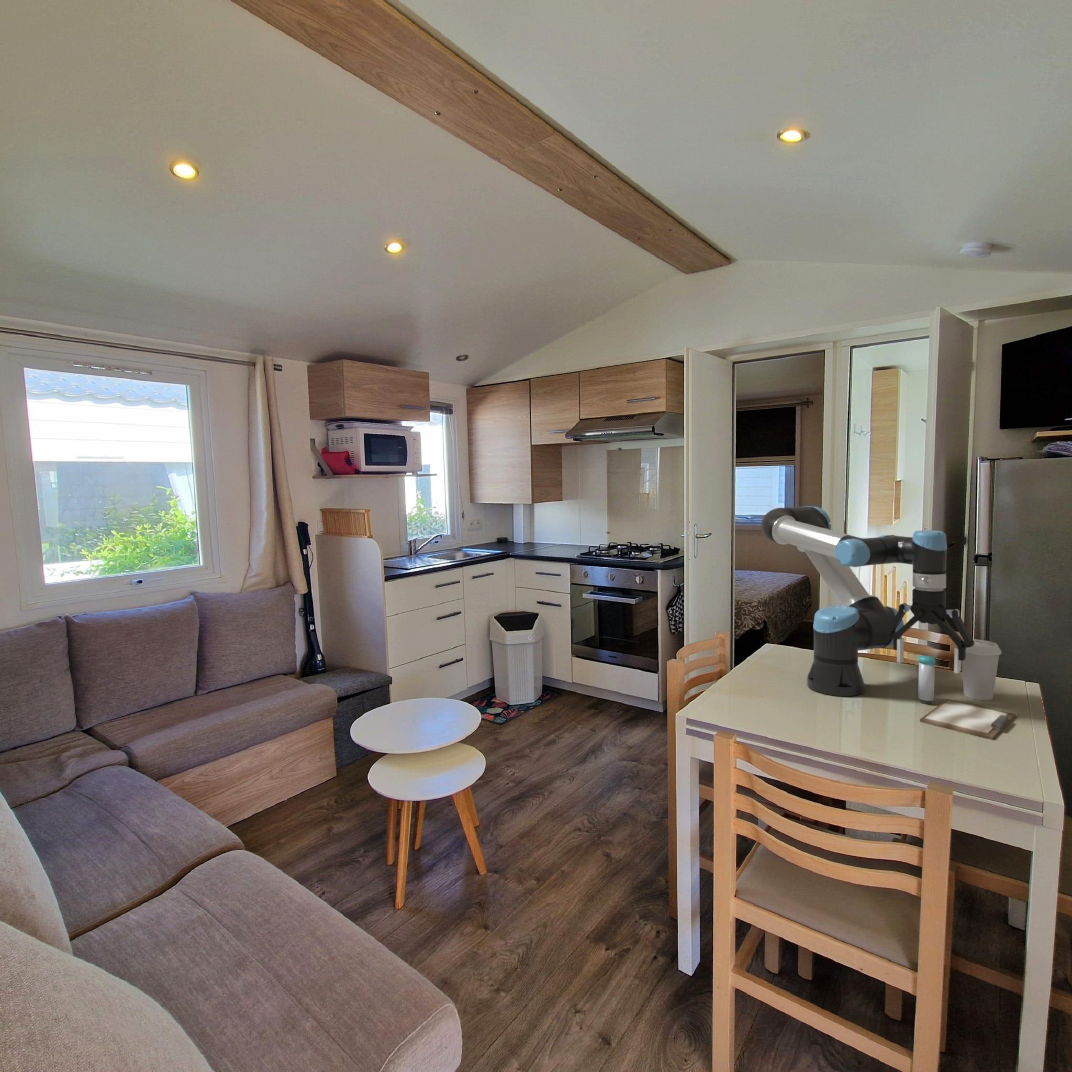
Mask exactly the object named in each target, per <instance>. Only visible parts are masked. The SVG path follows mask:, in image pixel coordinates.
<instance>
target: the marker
mask: <svg viewBox="0 0 1072 1072" xmlns="http://www.w3.org/2000/svg"><path fill="white" fill-rule="evenodd" d="M935 667H936V657H935V656H932V655H925V654H924V655H923V654H922V655H919V656H918V684H917V685H918V688H917V689H918V691H917V693H918V695H917V697H918V699H920V703H921V704H923V705H931V704H932V701H935V674H936V672H935V671H936V670H935V669H936V668H935Z"/></svg>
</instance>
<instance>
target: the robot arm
mask: <svg viewBox="0 0 1072 1072" xmlns="http://www.w3.org/2000/svg"><path fill="white" fill-rule="evenodd" d="M831 528H832V524H831V518H830V517H829V515H828V513H827V512H826V511H825V510H824V509H823V508H821V507H818V506H811V505H803V506H797V507H795V506H794V507H793V506H792V507H777V508H774V509H771V510H770V511H768V512H767V513H766V514H765V515H764V516H763V517H762V520H761V522H760V529H761V530H760V531H761V532H762V535H763V536H764V537H765V539H767V540H768V541H770V542H772V543H776V544H779V545H783V546H784V545H788V544H789V545H792V546H795V547H796V549H797V550H798V551H799V552H802V553H805V554H806V555H807V557H808V558H809V560H810V561H811V563H812V565H813V566H814V568H815V569H816V571H817V572H818V573H819V575H820V576H821V578H822V580H823V581H824V583H825V584H826V585H827V587H828V588H829V590H830V591H831V593H832V595H833V596H834V598H835V599H836V601H837V602H838V604H839V605H837V606H836V605H833V606H832V605H830V606H826V607H823V608H820V609H818V610H817V611H816V612H815V614H814V617H813V618H814V619H813V624H812V625H813V626H812V627H813V661H812V663H811V665H810V669H809V671H808V673H807V677H806V685H807V687H808V688H809V689H810V690H812V691H814V692H817V693H821V694H824V695H827V696H828V695H829V696H836V697H837V696H838V697H852V696H853V697H856V696H860V695H862V694H864V692H865V680H864V677H863V675H862V672H861V670H860V667H859V651H865V650H875V649H884V648H887V647H892V646H893V650H896V663H898V664H901V663H902V662H904V661H905V659H904V656H905V655H904V652H905V651H904V650H905V647H904V646H905V640H904V639H905V638H904V637H903V635H904V634H905V633H906V632H907V631H909V629H911V627H913V626H914V625H915V624H916V623H917V622H918V623H919V622H920V624H930V625H938V627H939V628H941V629H942V630H943V631H944V633H945V634H947V635H946V636H948V638H950V640H951V641H952V642H953V643H954V644H955V646H956V647H954V649H953V651H954V653H953V655H954V656H953V658H954V660H953V661H954V664H953V673H954V674H959V673H960V672H962V661H963V660H965V658H966V648H968V647H972V646H973V645H975V643H974V641H973V638H972V635H971V634H970V632H969V630H968V628H967V627H966V624H965V623H964V621H963V619H962V616H961V609H959V608H954V609H947V605H946V602H947V601H946V600H947V597H946V596H947V592H946V591H947V590H945V589H946V588H947V554H948V553H947V552H948V551H947V550H948V545H947V543H948V542H947V535H946V533H945V532H944V531H941V530H927V529H926V530H916V531H914V532H913V535H912V536H902V535H901V536H900V535H895V534H890V535H889V534H888V535H887V534H884V535H880V536H878V537H857V536H854V535H851V534H847V533H843V532H839V531H835V530H832V529H831ZM889 564H906V565H912V587H913V589H912V590H911V591H912V598H911V599H912V601H911V602H912V604H911V605H910V604H907V603H906V602H903V603H901V604H899V605H898V610H897V609H896V608H894V607H890V606H888V605H887V606H885V605H884V604H883V603H882V601H881V600H880V598H879V597H878V596H876V595H872V594H871V595H870V594H869V592H868V591H867V590H866V589H865V587H864V586H863V584H862V582H861V581H860V580H859V578H858V577H857V575H856V573H854V571H853V570H852V569H851V567H853V568H859V567H864V566H866V567H867V566H874V565H875V566H876V565H877V566H878V565H889ZM909 611H911V613H912V615H913V616H912V617H911V618H910V619H908V621H907V622H906V623H905V624H904V619H903V618H904V617H905V615H906V613H908V612H909ZM947 615H948V616H949V617H950V619H952V621H953V623H954V625H955V628H956V629H957V631H958V633H959V634H958V633H957V632H956V630H954V628H953V627H952V626H951V625H950V623H949V622H948V620H947V619H946V618H945V617H946V616H947ZM963 640H964V641H963Z"/></svg>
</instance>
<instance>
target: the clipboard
mask: <svg viewBox="0 0 1072 1072" xmlns="http://www.w3.org/2000/svg"><path fill="white" fill-rule="evenodd" d="M1016 717H1017V716H1016V713H1012V712H1007V711H1004V710H1003V711H1002V710H998V709H994V708H989V707H984V706H980V705H975V704H971V703H966V702H962V701H958V700H953V699H949V698H947V699H945V700H944V701H943V702H941V703H940V704H938V705H937V706H936V707H934V708H933V709H931V710H930V711H929V712H928V713H926V714H925V715H924V716H922V717H921V718H920V719H919V722H921V723H924V724H928V725H931V726H937V727H940V728H945V729H949V730H952V731H956V732H960V733H964V734H967V735H972V736H975V737H979V738H983V739H988V740H991V741H992V740H994V739H995V738H996V737H997V736H998V734H1000V733H1001V732H1002V730H1004V729H1005V727H1006V726H1008V725H1009V723H1011V721H1012V720H1014V719H1015V718H1016Z"/></svg>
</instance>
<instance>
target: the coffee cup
mask: <svg viewBox="0 0 1072 1072" xmlns="http://www.w3.org/2000/svg"><path fill="white" fill-rule="evenodd" d="M972 639H973V638H972ZM962 640H963V639H962ZM963 641H964V640H963ZM973 641H974V643H975V645H973V646H972V647H968V648H966V658H965V660H963V661H961V673H962V684H963V695H964V696H965V697H967V698H969V699H972V700H978V701H991V700H992V701H993V698H994V692H995V687H996V686H995V685H996V679H997V672H998V664H999V658H1000V655H1001V654H1002V650H1001V648H1000V647H999V645H998V644H997V642H993V641H989V640H983V639H975V638H974V639H973Z"/></svg>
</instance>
